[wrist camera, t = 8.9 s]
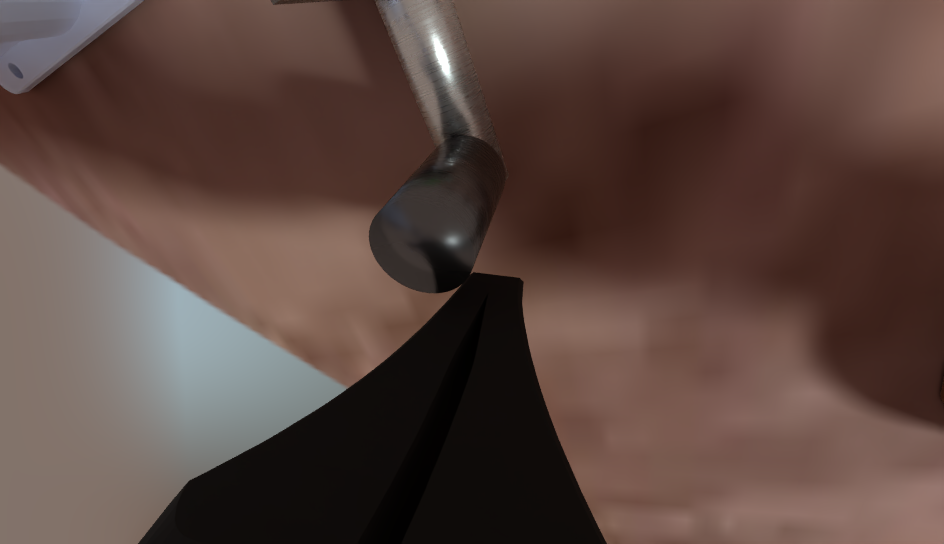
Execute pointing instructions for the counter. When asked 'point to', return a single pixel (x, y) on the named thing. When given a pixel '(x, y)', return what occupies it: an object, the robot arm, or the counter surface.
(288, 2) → the pin mount
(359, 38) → the counter surface
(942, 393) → the oil lamp
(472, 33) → the counter surface
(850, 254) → the counter surface
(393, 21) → the pin
